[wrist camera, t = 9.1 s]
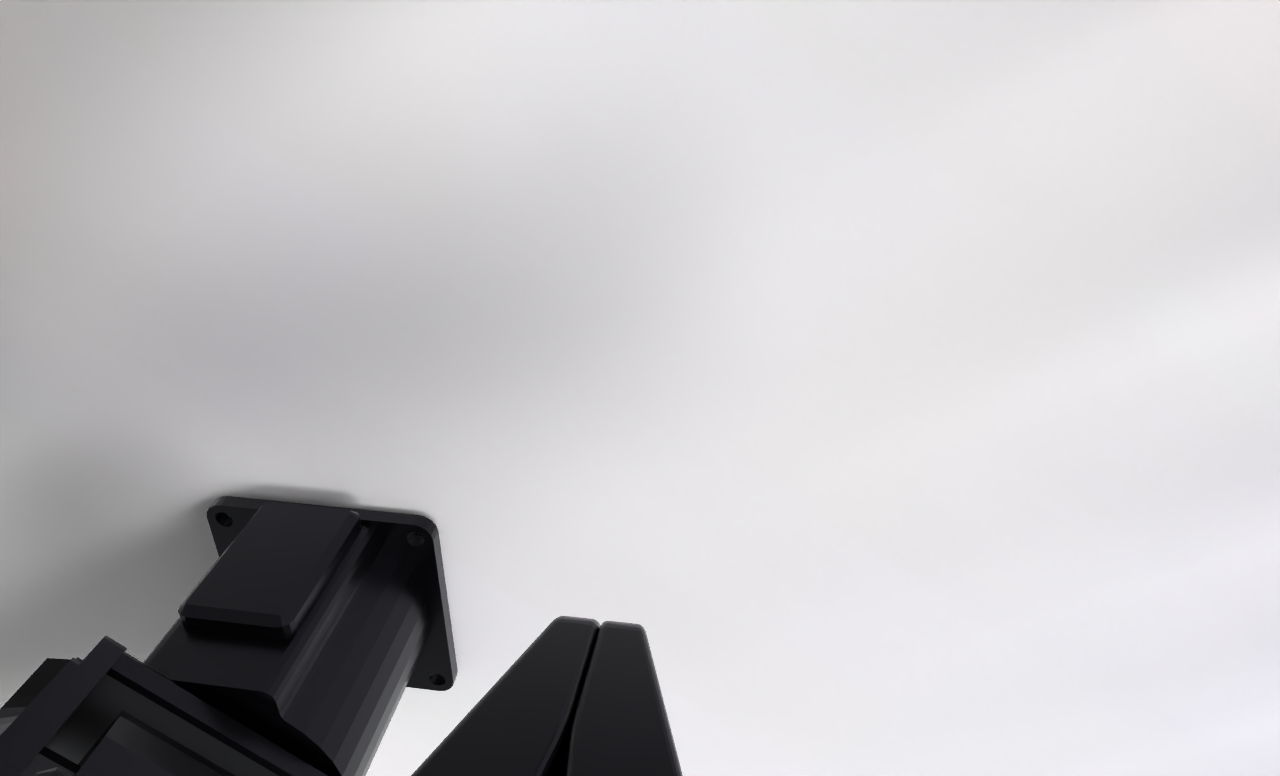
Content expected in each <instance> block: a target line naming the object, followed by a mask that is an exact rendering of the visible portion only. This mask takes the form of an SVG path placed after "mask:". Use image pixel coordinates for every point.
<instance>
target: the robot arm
mask: <svg viewBox="0 0 1280 776" xmlns="http://www.w3.org/2000/svg"><path fill="white" fill-rule="evenodd" d="M227 514H228V515H229V516H228V515H227ZM230 516H231V517H230ZM207 518H208V522H209V525H210V528H211V531H212V535H213V538H214V541H215V544H216V548H217V551H218V554H219V557H220V558H219V559H218V560H217V561H216V563H215V564H214V565H213V566H212V567H211V569H210V570H209V571H208V572H207V574H206V575H205V576H204V577H203V579H202V580H201V581H200V582H199V584H198V585H197V586H196V587H195V588H194V590H193V591H192V592H191V593H190V595H189V596H188V597H187V598H186V600H185V601H184V602H183V603H182V605H181V606H180V608H179V610H178V612H179V615H180V618H179V619H178V620H177V621H176V623H175V624H174V625H173V626H172V628H171V629H170V630H169V631H168V633H167V634H166V635H165V636H164V638H163V639H162V640H161V641H160V643H159V644H158V645H157V646H156V648H155V649H154V650H153V651H152V653H151V654H150V655H149V656H148V658H147V659H146V660H145V661H144V663H142V662H141V661H139V660H137V659H136V658H134V657H132V656H131V655H129V654H127V653H126V652H125V650H126V649H127V648H126V647H124V646H123V645H121V644H119V643H118V642H116V641H114V640H113V639H111V638H109V637H108V636H105V637H104V638H103V639H102V640H101V641H100V642H99V643H98V645H97V646H96V647H95V648H94V649H93V650H92V651H91V652H90V653H89V654H88V655H87V657H86V658H85V659H84V660H82V659H80V658H78V657H77V658H76V659H75V658H72V659H71V660H68V659H50V658H47V659H46V660H45V661H44V662H43V664H42V665H41V666H40V667H39V668H38V669H37V670H36V671H35V672H34V673H33V674H32V675H31V677H30V678H29V679H28V680H27V681H26V682H25V683H24V684H23V685H22V686H21V687H20V688H19V690H18V691H17V692H16V693H15V694H14V695H13V696H12V697H11V698H10V699H9V700H8V701H7V702H6V703H5V705H4V706H3V707H2V708H1V709H0V776H365V775H366V773H367V771H368V769H369V767H370V764H371V762H372V760H373V758H374V756H375V753H376V751H377V749H378V747H379V745H380V742H381V740H382V738H383V736H384V734H385V731H386V729H387V727H388V725H389V723H390V721H391V718H392V716H393V714H394V712H395V710H396V707H397V705H398V703H399V701H400V699H401V696H402V694H403V692H404V690H405V688H406V687H412V688H420V689H429V690H437V691H445V690H448V689H450V688H451V687H452V686H453V684H454V681H455V679H456V676H457V664H456V657H455V649H454V642H453V635H452V628H451V620H450V613H449V606H448V598H447V591H446V584H445V577H444V569H443V562H442V555H441V548H440V540H439V533H438V529H437V527H436V525H435V524H434V523H433V522H432V521H431V520H429V519H428V518H426V517H423V516H419V515H409V514H399V513H389V512H379V511H369V510H359V509H349V508H339V507H329V506H319V505H309V504H299V503H289V502H280V501H270V500H260V499H250V498H240V497H230V496H225V497H220V498H219V499H217V500H216V501H215V502H214V503H213V505H212V506H211V507H210V508H209V510H208V511H207ZM413 532H416V533H419V534H421V535H422V536H423V537H420V536H417V535H416V534H414V533H413ZM411 776H683V775H682V772H681V768H680V764H679V760H678V756H677V752H676V748H675V744H674V740H673V737H672V733H671V729H670V725H669V721H668V717H667V713H666V709H665V705H664V702H663V698H662V694H661V690H660V686H659V682H658V678H657V674H656V670H655V666H654V663H653V659H652V655H651V651H650V647H649V643H648V639H647V635H646V632H645V630H644V628H643V627H642V626H641V625H639V624H632V623H623V622H614V621H605V622H603V623H602V625H601V626H600V624H599V623H598V622H597V621H596V620H594V619H587V618H578V617H569V616H560V617H558V618H556V619H555V620H554V621H552V623H551V624H550V625H549V626H548V627H547V628H546V629H545V630H544V631H543V632H542V633H541V635H540V636H539V637H538V638H537V639H536V640H535V641H534V642H533V643H532V644H531V645H530V647H529V648H528V649H527V650H526V651H525V652H524V653H523V654H522V655H521V656H520V657H519V659H518V660H517V661H516V662H515V663H514V664H513V665H512V666H511V667H510V668H509V669H508V671H507V672H506V673H505V674H504V675H503V676H502V677H501V678H500V679H499V680H498V682H497V683H496V684H495V685H494V686H493V687H492V688H491V689H490V690H489V691H488V692H487V694H486V695H485V696H484V697H483V698H482V699H481V700H480V701H479V702H478V703H477V704H476V706H475V707H474V708H473V709H472V710H471V711H470V712H469V713H468V714H467V715H466V716H465V718H464V719H463V720H462V721H461V722H460V723H459V724H458V725H457V726H456V727H455V728H454V730H453V731H452V732H451V733H450V734H449V735H448V736H447V737H446V738H445V739H444V740H443V742H442V743H441V744H440V745H439V746H438V747H437V748H436V749H435V750H434V751H433V753H432V754H431V755H430V756H429V757H428V758H427V759H426V760H425V761H424V762H423V763H422V765H421V766H420V767H419V768H418V769H417V770H416V771H415V772H414V773H413V774H412V775H411Z"/></svg>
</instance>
